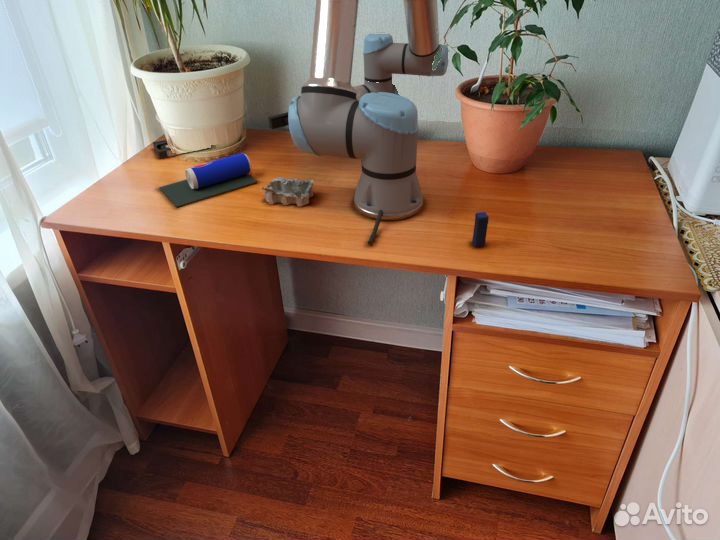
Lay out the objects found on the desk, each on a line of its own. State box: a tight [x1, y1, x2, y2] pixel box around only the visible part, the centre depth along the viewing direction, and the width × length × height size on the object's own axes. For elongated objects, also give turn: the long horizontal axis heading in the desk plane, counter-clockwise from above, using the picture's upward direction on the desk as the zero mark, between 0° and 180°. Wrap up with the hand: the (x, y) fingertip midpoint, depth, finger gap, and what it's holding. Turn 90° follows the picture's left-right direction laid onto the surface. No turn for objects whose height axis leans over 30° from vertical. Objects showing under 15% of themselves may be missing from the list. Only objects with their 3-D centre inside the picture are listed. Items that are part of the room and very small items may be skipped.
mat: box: [159, 174, 258, 209], centre depth 126 cm, size 20×12×1 cm, turn 126°
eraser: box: [472, 211, 490, 248], centre depth 100 cm, size 2×2×7 cm
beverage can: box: [184, 152, 253, 189], centre depth 126 cm, size 5×5×15 cm
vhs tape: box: [152, 139, 179, 160], centre depth 145 cm, size 14×8×2 cm, turn 117°
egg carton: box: [261, 176, 314, 207], centre depth 119 cm, size 11×8×4 cm
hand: (270, 123), depth 128 cm, fingers closed
